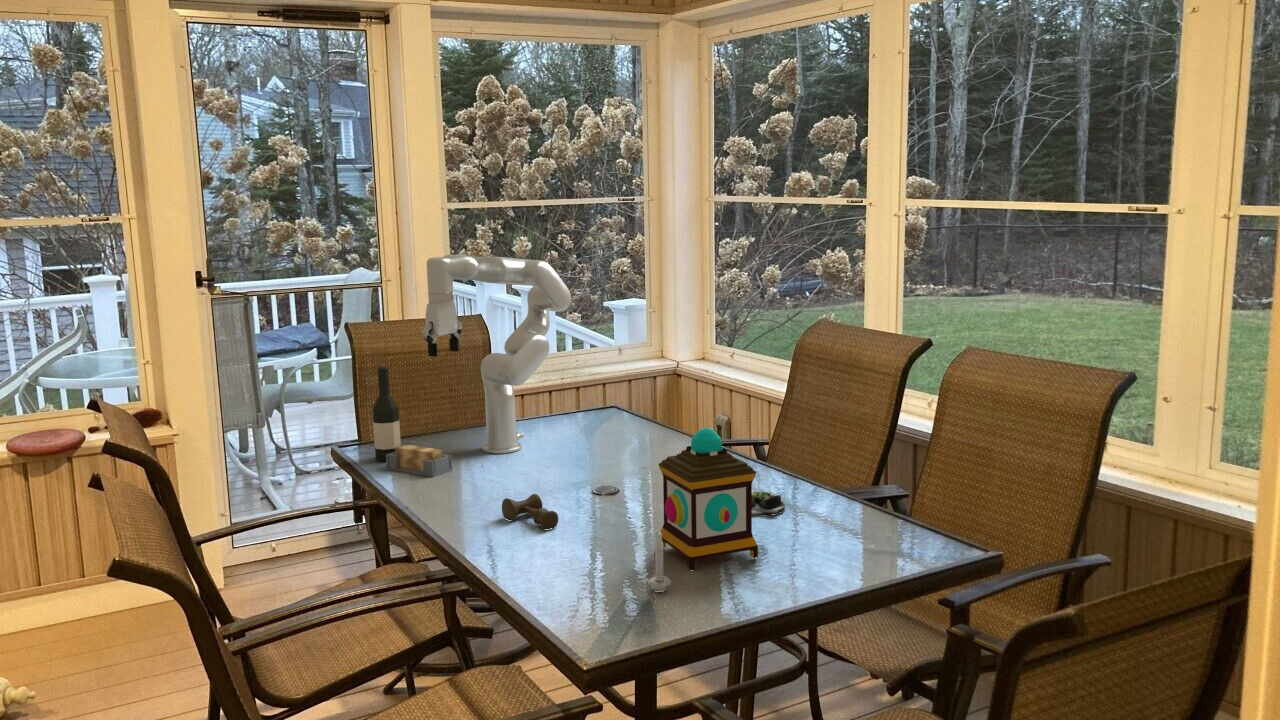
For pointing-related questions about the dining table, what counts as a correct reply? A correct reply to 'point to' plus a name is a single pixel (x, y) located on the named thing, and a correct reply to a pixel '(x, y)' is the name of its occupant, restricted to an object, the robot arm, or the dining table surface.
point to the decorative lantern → (707, 500)
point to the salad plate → (766, 503)
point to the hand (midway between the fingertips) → (443, 353)
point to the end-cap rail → (429, 466)
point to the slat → (415, 456)
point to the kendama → (530, 511)
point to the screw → (659, 567)
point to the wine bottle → (385, 418)
